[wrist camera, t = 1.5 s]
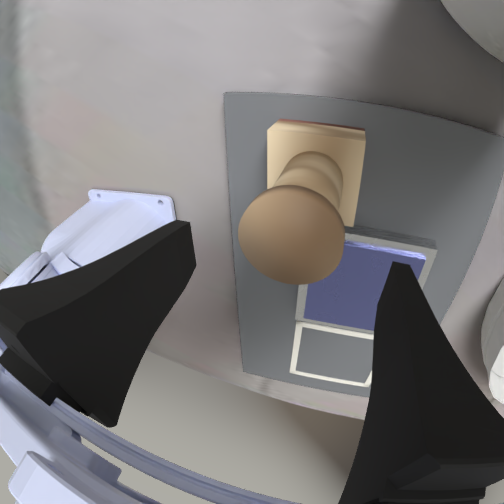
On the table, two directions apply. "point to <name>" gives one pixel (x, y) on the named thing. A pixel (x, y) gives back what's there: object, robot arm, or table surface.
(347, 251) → the ink pad
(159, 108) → the table surface
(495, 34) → the glass bottle
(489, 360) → the dish
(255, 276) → the desk mat
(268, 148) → the stamp
